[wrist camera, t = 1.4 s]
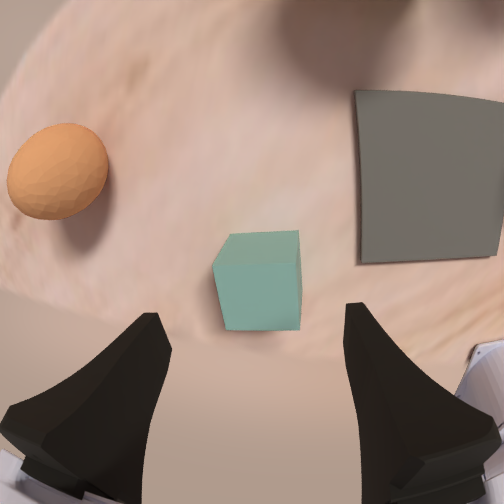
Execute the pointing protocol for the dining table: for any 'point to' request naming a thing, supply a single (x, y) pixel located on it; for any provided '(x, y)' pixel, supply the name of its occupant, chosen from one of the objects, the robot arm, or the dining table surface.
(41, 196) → the egg
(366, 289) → the dining table surface
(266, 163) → the dining table surface
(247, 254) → the cube
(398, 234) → the mat
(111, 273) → the dining table surface
